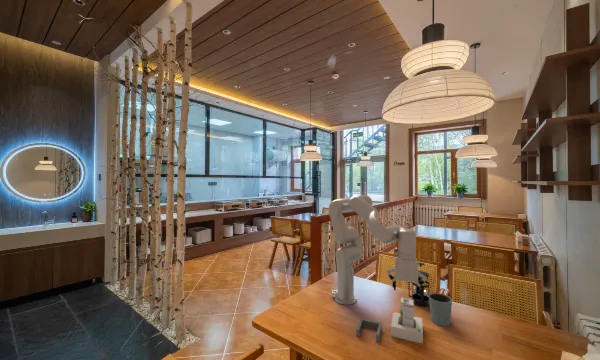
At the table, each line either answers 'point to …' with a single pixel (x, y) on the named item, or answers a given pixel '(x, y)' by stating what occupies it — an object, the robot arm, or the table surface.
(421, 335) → the port
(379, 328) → the grey u-shaped bracket
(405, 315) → the syrup box
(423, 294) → the french press
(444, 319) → the grey embossed plant pot
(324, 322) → the table surface
